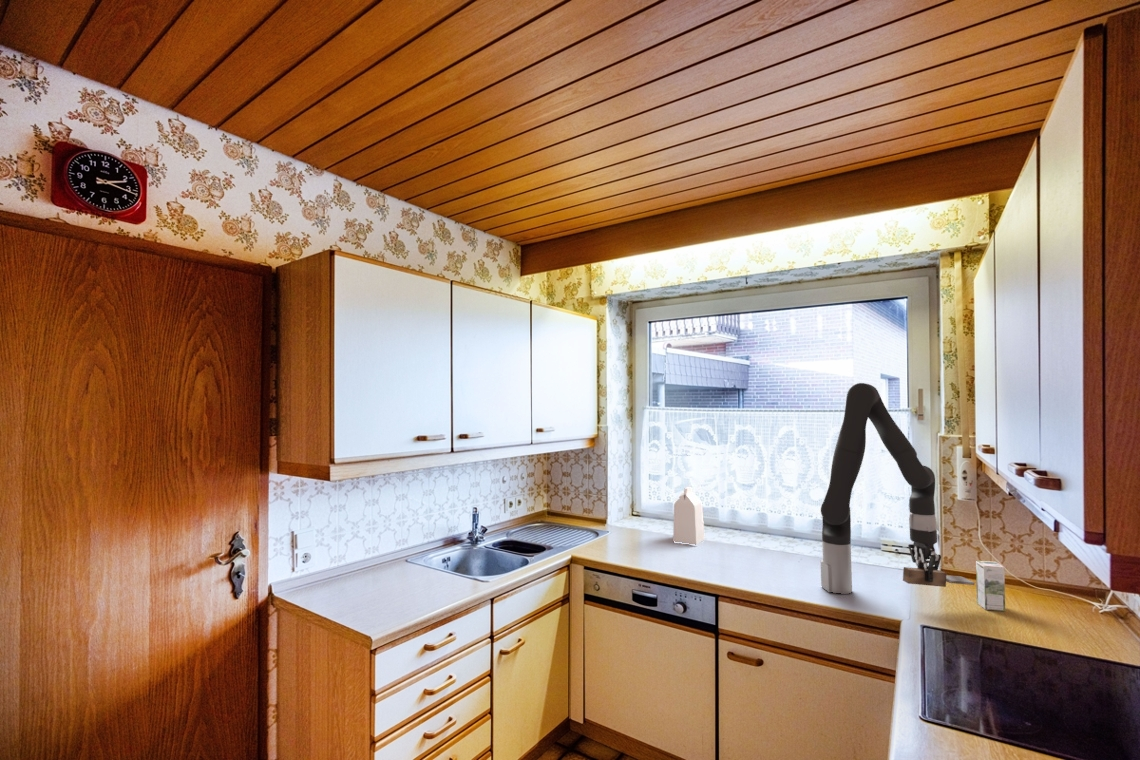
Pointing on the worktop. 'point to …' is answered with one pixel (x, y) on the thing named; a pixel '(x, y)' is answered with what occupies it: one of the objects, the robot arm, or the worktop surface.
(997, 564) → the syrup box
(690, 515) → the milk
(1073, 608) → the worktop surface
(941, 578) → the turner
